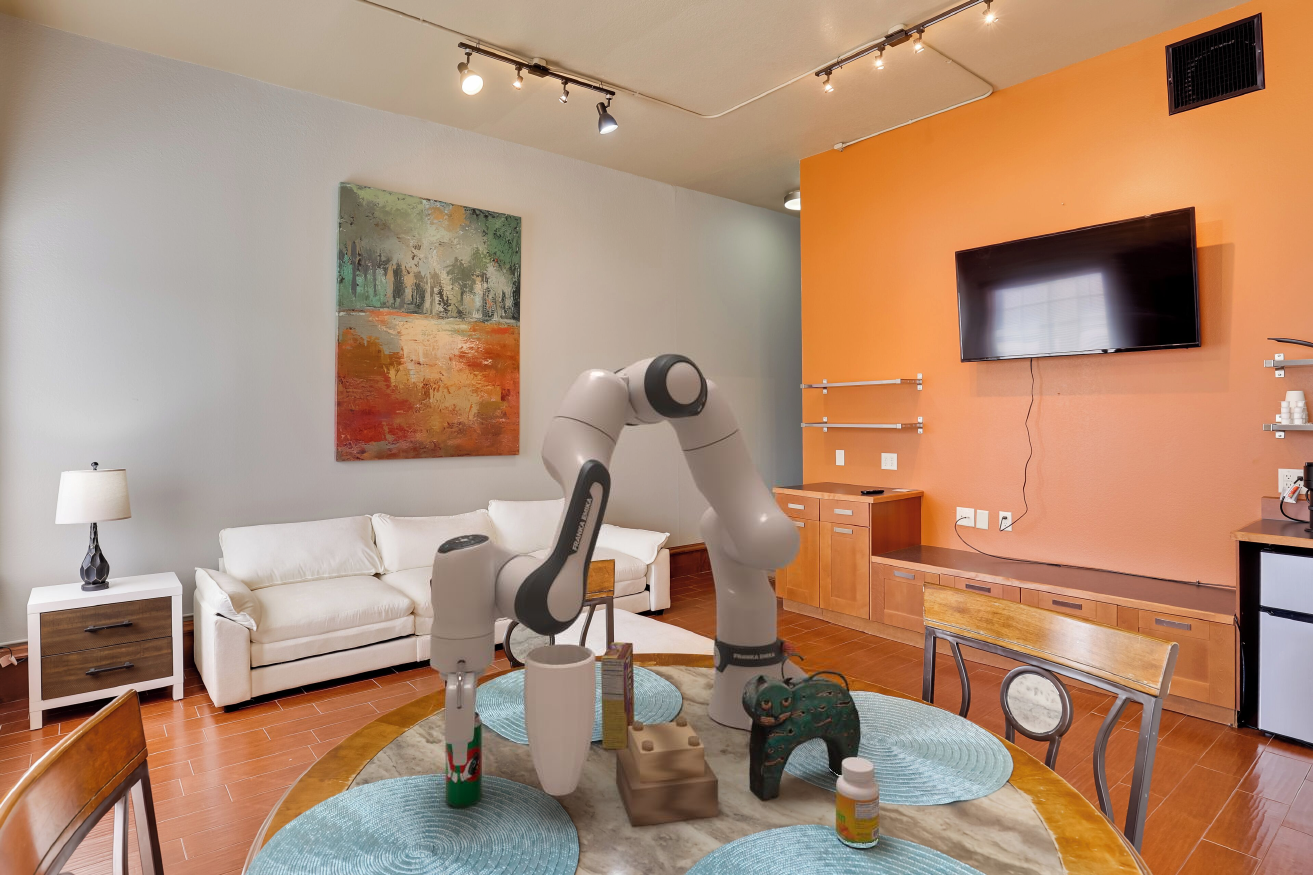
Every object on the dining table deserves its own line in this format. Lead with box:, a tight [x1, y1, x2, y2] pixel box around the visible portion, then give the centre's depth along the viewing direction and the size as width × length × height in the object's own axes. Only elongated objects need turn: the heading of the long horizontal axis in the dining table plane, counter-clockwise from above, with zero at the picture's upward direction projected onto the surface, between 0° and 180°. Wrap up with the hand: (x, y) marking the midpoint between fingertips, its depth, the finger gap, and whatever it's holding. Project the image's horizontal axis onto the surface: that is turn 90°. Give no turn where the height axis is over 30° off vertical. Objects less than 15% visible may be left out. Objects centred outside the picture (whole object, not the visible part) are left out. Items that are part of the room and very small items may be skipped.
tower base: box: [615, 716, 719, 828], centre depth 102 cm, size 12×12×10 cm
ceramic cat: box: [742, 652, 862, 802], centre depth 107 cm, size 20×6×20 cm, turn 115°
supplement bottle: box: [835, 756, 880, 844], centre depth 92 cm, size 5×5×10 cm
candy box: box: [600, 641, 636, 750], centre depth 122 cm, size 9×4×15 cm, turn 172°
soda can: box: [445, 711, 483, 808], centre depth 101 cm, size 5×5×12 cm
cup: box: [523, 643, 597, 796], centre depth 99 cm, size 10×10×22 cm
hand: (461, 747), depth 101 cm, fingers open, 8 cm apart
